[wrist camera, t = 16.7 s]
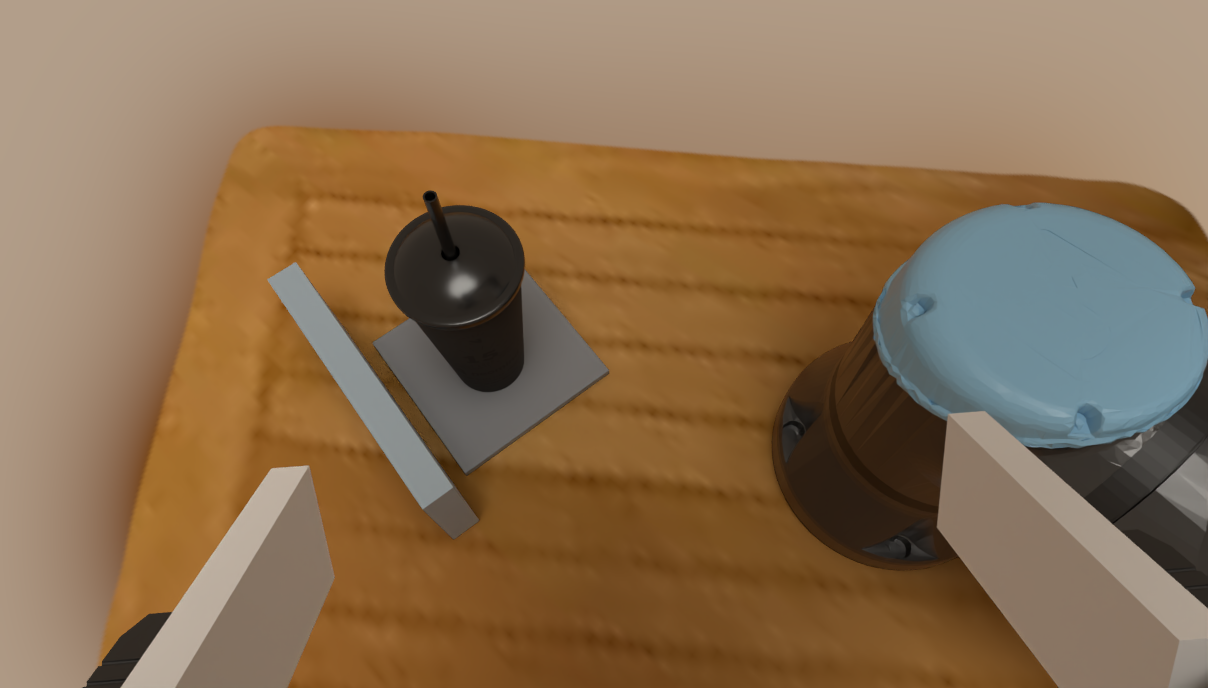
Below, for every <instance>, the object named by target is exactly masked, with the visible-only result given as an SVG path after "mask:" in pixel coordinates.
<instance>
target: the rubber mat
mask: <svg viewBox="0 0 1208 688" xmlns="http://www.w3.org/2000/svg"><path fill="white" fill-rule="evenodd" d="M521 289H522V314H523V339H524V365H523V369H522V371H521V373H520V375H519V376H518V378H517V379H516V380H515V381H514V382H513V383H512V384H511V385H509V386H508V387H506V388H504V389H502V390H499V391H495V392H481V391H477V390H474V389H472V388H470V387H469V386H467V385H466V384H465V383H464V382H463V381H462V380H461V379H460V377H459V376H458V375H457V374H456V372H455V371H454V370H453V368H452V367H451V366H450V365H449V363H448V362H447V361H446V360H445V358H444V357H443V356H442V355H441V353H440V352H439V351H438V350H437V348H436V347H435V346H434V345H433V343H432V342H431V341H430V339H429V338H428V337H427V336H426V334H425V333H424V332H423V331H422V329H421V328H420V327H419V326H418V324H417V323H416V322H415V321H413V320H412V319H410V318H409V319H408V320H406V321H405V322H403V323H402V324H400V325H399V326H397V327H396V328H394V329H393V330H391V331H390V332H388V333H386V334H385V335H383V336H382V337H380V338H379V339H377V340H376V341H374V342H373V345H374V346H375V347H376V349H377V350H378V352H379V353H380V354H381V356H382V357H383V359H384V360H385V361H386V363H387V364H388V366H389V367H390V369H391V370H392V371H393V373H394V374H395V376H396V377H397V378H398V380H399V381H400V383H401V384H402V385H403V387H404V388H405V390H406V391H407V392H408V394H409V395H410V397H411V398H412V399H413V401H414V402H415V404H416V405H417V406H418V408H419V409H420V411H421V412H422V413H423V415H424V416H425V418H426V419H427V421H428V422H429V423H430V425H431V426H432V428H433V429H434V430H435V432H436V433H437V435H438V436H439V437H440V439H441V440H442V442H443V443H444V444H445V446H446V447H447V449H448V450H449V451H450V453H451V454H452V456H453V457H454V458H455V460H456V461H457V463H458V464H459V466H460V467H461V468H462V470H463V471H464V473H465V474H466V475H469V474H470V473H471V472H473V471H474V470H476V469H477V468H478V467H480V466H481V465H483V464H484V463H485V462H487V461H488V460H489V459H491V458H492V457H494V456H495V455H496V454H498V453H499V452H501V451H502V450H503V449H505V448H506V447H508V446H509V445H510V444H512V443H513V442H514V441H516V440H517V439H519V438H520V437H521V436H523V435H524V434H526V433H527V432H528V431H530V430H531V429H533V428H534V427H535V426H537V425H538V424H539V423H541V422H542V421H544V420H545V419H546V418H548V417H549V416H551V415H552V414H553V413H555V412H556V411H557V410H559V409H560V408H562V407H563V406H564V405H566V404H567V403H569V402H570V401H571V400H573V399H574V398H576V397H577V396H578V395H580V394H581V393H582V392H584V391H585V390H587V389H588V388H589V387H591V386H592V385H594V384H595V383H596V382H598V381H599V380H601V379H602V378H603V377H605V376H606V375H607V374H609V370H608V368H607V367H606V366H605V365H604V364H603V362H602V361H601V360H600V359H599V358H598V356H597V355H596V354H595V353H594V352H593V350H592V349H591V348H590V347H589V346H588V345H587V343H586V342H585V341H584V340H583V339H582V337H581V336H580V335H579V334H578V333H577V331H576V330H575V329H574V328H573V327H572V325H571V324H570V323H569V322H568V321H567V319H566V318H565V317H564V316H563V315H562V313H561V312H560V311H559V310H558V309H557V307H556V306H555V305H554V304H553V303H552V301H551V300H550V299H549V298H548V297H547V295H546V294H545V293H544V292H543V291H542V289H541V288H540V287H539V286H538V285H537V283H536V282H535V281H534V280H533V279H532V277H531V276H530V275H529V274H528V273H527V271H526V270H525V272H524V277H523V281H522V284H521Z"/></svg>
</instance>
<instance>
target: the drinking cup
mask: <svg viewBox="0 0 1208 688" xmlns="http://www.w3.org/2000/svg"><path fill="white" fill-rule="evenodd" d="M423 200H424V202H425V205H426V208H427V210H428V212H427V213H425V214H422V215H421V216H419V217H417V218H416V219H414V220H413V221H411V222H410V223H409V224H408V225H407V226H405V227H404V228H403V229H402V230H401V232H400V233H399V234H398V235H397V237H396V238H395V240H394V241H393V243H392V245H391V247H390V249H389V251H388V254H387V258H386V262H385V281H386V285H387V289H388V291H389V294H390V296H391V298H392V299H393V301H394V303H395V304H396V305H397V307H398V308H399V309H400V310H401V311H402V312H403V313H404V314H405V315H406V316H407V317H409V318H410V319H412V320H413V321H415V322H416V323H417V324H418V326H419V327H420V328H421V329H422V331H423V332H424V333H425V334H426V336H427V337H428V338H429V339H430V341H431V342H432V343H433V345H434V346H435V347H436V348H437V350H438V351H439V352H440V353H441V355H442V356H443V357H444V358H445V360H446V361H447V362H448V363H449V365H450V366H451V367H452V368H453V370H454V371H455V372H456V374H457V375H458V376H459V377H460V379H461V380H462V381H463V382H464V383H465V384H466V385H467V386H469V387H470V388H472V389H474V390H477V391H481V392H495V391H499V390H502V389H504V388H506V387H508V386H509V385H511V384H512V383H513V382H514V381H515V380H516V379H517V378H518V376H519V375H520V373H521V371H522V369H523V365H524V339H523V314H522V289H521V284H522V281H523V277H524V272H525V257H524V251H523V247H522V244H521V242H520V239H519V238H518V236H517V234H516V233H515V231H514V230H513V229H512V227H511V226H510V225H509V224H508V223H507V222H506V221H504V220H503V219H502V218H500V217H499V216H497V215H496V214H494V213H492V212H490V211H487V210H485V209H482V208H478V207H473V206H465V205H455V206H446V207H441V205H440V202H439V199H438V196H437V194H436V192H434V191H427V192H425V193H424V195H423Z"/></svg>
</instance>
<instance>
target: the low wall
mask: <svg viewBox="0 0 1208 688" xmlns="http://www.w3.org/2000/svg"><path fill="white" fill-rule="evenodd" d="M267 280H268V281H269V283H270V284H271V286H272V287H273V289H274V290H275V292H276V293H277V295H278V296H279V298H280V299H281V301H282V302H283V304H284V305H285V307H286V308H287V310H288V311H289V312H290V314H291V315H292V317H293V318H294V320H295V321H296V323H297V324H298V326H299V327H300V329H301V330H302V332H303V333H304V335H305V336H306V338H307V339H308V341H309V342H310V344H311V345H312V347H313V348H314V350H315V351H316V352H317V354H318V355H319V357H320V358H321V360H322V361H323V363H324V364H325V366H326V367H327V369H328V370H329V372H330V373H331V375H332V376H333V378H334V379H335V381H336V382H337V384H338V385H339V387H340V388H341V389H342V391H343V392H344V394H345V395H346V397H347V398H348V400H349V401H350V403H351V404H352V406H353V407H354V409H355V410H356V412H357V413H358V415H359V416H360V418H361V419H362V421H363V422H364V424H365V425H366V426H367V428H368V429H369V431H370V432H371V434H372V435H373V437H374V438H375V440H376V441H377V443H378V444H379V446H380V447H381V449H382V450H383V452H384V453H385V455H386V456H387V458H388V459H389V461H390V462H391V463H392V465H393V466H394V468H395V469H396V471H397V472H398V474H399V475H400V477H401V478H402V480H403V481H404V483H405V484H406V486H407V487H408V489H409V490H410V492H411V493H412V495H413V496H414V498H415V499H416V501H417V502H418V503H419V505H420V506H421V508H422V509H423V510H424V511H425V512H426V513H427V514H428V515H429V516H430V517H431V518H432V519H433V520H434V521H435V522H436V523H437V524H438V525H439V526H440V527H441V528H442V529H443V530H444V531H445V532H446V533H447V534H448V535H449V536H450V537H452V538H453V539H455V538H457V537H458V536H459V535H461V534H462V533H463V532H465V531H466V530H467V529H469V528H470V527H472V526H473V525H474V524H476V523H477V522H478V521H479V519H478V518H477V517H476V515H475V514H474V512H473V511H472V509H471V508H470V507H469V505H468V504H467V502H466V501H465V499H464V498H463V497H462V495H461V494H460V492H459V491H458V489H457V488H456V487H455V485H454V484H453V482H452V481H451V479H450V478H449V477H448V475H447V474H446V472H445V471H444V469H443V468H442V467H441V465H440V464H439V462H438V461H437V459H436V458H435V457H434V455H433V454H432V452H431V451H430V449H429V448H428V447H427V445H426V444H425V442H424V441H423V440H422V438H421V437H420V435H419V434H418V432H417V431H416V430H415V428H414V427H413V425H412V424H411V422H410V421H409V420H408V418H407V417H406V415H405V414H404V412H403V411H402V410H401V408H400V407H399V405H398V404H397V402H396V401H395V400H394V398H393V397H392V395H391V394H390V392H389V391H388V390H387V388H386V387H385V385H384V384H383V382H382V381H381V380H380V378H379V377H378V375H377V374H376V372H375V371H374V370H373V368H372V367H371V365H370V364H369V363H368V361H367V360H366V358H365V357H364V355H363V354H362V353H361V351H360V350H359V348H358V347H357V345H356V344H355V343H354V341H353V340H352V338H351V337H350V335H349V334H348V333H347V331H346V330H345V328H344V327H343V325H342V324H341V323H340V321H339V320H338V319H337V317H336V316H335V315H334V313H333V312H332V310H331V309H330V308H329V306H328V305H327V304H326V302H325V301H324V300H323V298H322V297H321V296H320V294H319V293H318V291H317V290H316V289H315V287H314V286H313V285H312V283H311V282H310V281H309V279H308V278H307V277H306V275H305V274H304V273H303V271H302V270H301V268H300V267H299V266H298V264H297V263H296V262H295V263H294V264H292V265H291V266H289V267H287V268H286V269H284V270H282V271H281V272H279V273H277V274H276V275H274V276H272V277H271V278H269V279H267Z"/></svg>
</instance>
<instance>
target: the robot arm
mask: <svg viewBox="0 0 1208 688" xmlns="http://www.w3.org/2000/svg"><path fill="white" fill-rule="evenodd" d="M1194 290H1195V286H1194V285H1193V283H1192V281H1191V280H1190V279H1189V277H1188V276H1187V274H1186V273H1185V272H1184V271H1183V269H1182V268H1181V267H1180V266H1179V265H1178V264H1177V263H1176V262H1175V261H1174V260H1173V259H1172V258H1171V257H1170V256H1169V255H1168V254H1167V253H1166V252H1165V251H1164V250H1163V249H1161V248H1160V247H1159V246H1158V245H1156V244H1155V243H1154V242H1152V241H1151V240H1149V239H1148V238H1147V237H1145V236H1144V235H1142V234H1140V233H1139V232H1137V231H1135V230H1134V229H1132V228H1130V227H1128V226H1126V225H1124V224H1122V223H1120V222H1118V221H1116V220H1113V219H1111V218H1109V217H1106V216H1103V215H1100V214H1097V213H1094V212H1091V211H1088V210H1085V209H1081V208H1077V207H1072V206H1067V205H1059V204H1051V203H1032V204H1030V205H1022V206H1011V205H1009V204H1002V205H996V206H991V207H987V208H983V209H980V210H977V211H974V212H971V213H969V214H966V215H964V216H962V217H959V218H957V219H955V220H953V221H951V222H950V223H948V224H946V225H945V226H943V227H942V228H940V229H939V230H937V231H936V232H935V233H933V234H932V235H931V236H930V237H929V238H928V239H927V240H926V241H925V242H924V243H923V244H922V245H921V246H920V247H919V248H918V249H917V250H916V252H915V253H914V254H913V255H912V257H911V258H910V259H909V260H907V261H906V262H905V263H903V264H902V265H901V266H900V267H899V268H898V269H897V270H896V271H895V272H894V273H893V274H892V275H891V277H890V278H889V279H888V281H887V282H886V283H885V285H884V287H883V291H882V293H881V295H880V297H879V298H878V299H877V303H876V306H875V307H874V309H873V311H872V312H871V314H870V315H869V317H868V318H867V320H866V321H865V323H864V324H863V326H862V328H861V329H860V331H859V332H858V334H857V335H856V337H855V338H854V340H853V341H852V342H849V343H846V344H844V345H841V346H838V347H836V348H834V349H832V350H830V351H828V352H826V353H824V354H823V355H821V356H820V357H818V358H817V359H816V360H814V361H813V362H812V363H811V364H810V365H808V366H807V367H806V368H805V369H804V370H803V371H802V372H801V373H800V375H799V376H798V377H797V378H796V380H795V381H794V382H793V384H792V385H791V387H790V389H789V390H788V392H787V394H786V396H785V398H784V399H783V401H782V403H781V405H780V408H779V410H778V413H777V416H776V419H775V424H774V428H773V436H772V454H773V462H774V468H775V472H776V476H777V479H778V482H779V485H780V487H781V490H782V492H783V494H784V496H785V498H786V500H787V502H788V503H789V505H790V507H791V508H792V510H793V511H794V513H795V514H796V516H797V517H798V518H799V519H800V521H801V522H802V523H803V524H804V525H805V526H806V527H807V529H808V530H809V531H810V532H811V533H813V534H814V535H815V536H816V537H817V538H818V539H819V540H821V541H822V542H823V543H824V544H826V545H827V546H829V547H830V548H832V549H833V550H835V551H836V552H838V553H840V554H842V555H844V556H845V557H847V558H850V559H852V560H854V561H857V562H859V563H862V564H865V565H869V566H872V567H877V568H881V569H888V570H918V569H924V568H929V567H932V566H936V565H939V564H942V563H944V562H947V561H949V560H951V559H954V558H956V557H958V556H959V557H960V558H961V560H962V561H963V562H964V564H965V565H966V566H967V568H968V569H969V570H970V572H971V573H972V574H973V576H974V577H975V578H976V579H977V581H978V582H979V583H980V585H981V586H982V587H983V589H984V590H985V591H986V593H987V594H988V595H989V597H990V598H991V599H992V600H993V602H994V603H995V604H996V606H997V607H998V608H999V610H1000V611H1001V612H1002V614H1003V615H1004V616H1005V618H1006V619H1007V620H1008V622H1009V623H1010V624H1011V625H1012V627H1013V628H1014V629H1015V631H1016V632H1017V633H1018V635H1019V636H1020V637H1021V639H1022V640H1023V641H1024V643H1025V644H1026V645H1027V646H1028V648H1029V649H1030V650H1031V652H1032V653H1033V654H1034V656H1035V657H1036V658H1037V660H1038V661H1039V662H1040V664H1041V665H1042V666H1043V667H1044V669H1045V670H1046V671H1047V673H1048V674H1049V675H1050V677H1051V678H1052V679H1053V681H1054V682H1055V683H1056V685H1057V686H1058V687H1059V688H1208V318H1207V315H1206V312H1205V309H1203V308H1200V307H1197V306H1194V305H1193V304H1192V301H1191V296H1192V295H1193V293H1194ZM334 578H335V577H334V572H333V568H332V564H331V559H330V555H329V550H328V546H327V542H326V537H325V533H324V528H323V524H322V520H321V515H320V511H319V506H318V502H317V498H316V493H315V489H314V485H313V480H312V476H311V471H310V467H309V466H297V467H284V468H272V469H271V470H270V471H269V473H268V474H267V476H266V477H265V478H264V480H263V481H262V483H261V484H260V486H259V487H258V489H257V490H256V492H255V493H254V494H253V496H252V497H251V499H250V500H249V502H248V503H247V505H246V506H245V508H244V509H243V510H242V512H241V513H240V515H239V516H238V518H237V519H236V521H235V522H234V524H233V525H232V526H231V528H230V529H229V531H228V532H227V534H226V535H225V537H224V538H223V540H222V541H221V542H220V544H219V545H218V547H217V548H216V550H215V551H214V553H213V554H212V556H211V557H210V558H209V560H208V561H207V563H206V564H205V566H204V567H203V569H202V570H201V572H200V573H199V574H198V576H197V577H196V579H195V580H194V582H193V583H192V585H191V586H190V587H189V589H188V590H187V592H186V593H185V595H184V596H183V598H182V599H181V601H180V602H179V603H178V605H177V606H176V608H175V609H174V611H173V612H167V613H156V614H148V615H147V616H146V617H145V618H143V619H142V620H141V621H140V622H138V623H137V624H136V625H135V626H133V627H132V628H131V629H130V630H128V631H127V632H126V633H125V634H123V635H122V636H121V637H120V638H119V639H118V641H117V642H116V643H115V645H114V646H113V647H112V649H111V650H110V651H109V653H108V654H107V655H106V657H105V658H104V659H103V661H102V666H98V668H97V669H96V670H95V672H94V673H93V674H92V676H91V677H90V678H89V680H88V681H87V686H86V687H83V688H287V687H288V685H289V683H290V680H291V678H292V676H293V673H294V671H295V669H296V666H297V664H298V662H299V659H300V657H301V655H302V652H303V650H304V648H305V645H306V643H307V641H308V638H309V636H310V634H311V631H312V629H313V627H314V624H315V622H316V620H317V617H318V615H319V613H320V610H321V608H322V606H323V604H324V601H325V599H326V597H327V594H328V592H329V590H330V587H331V585H332V583H333V580H334Z"/></svg>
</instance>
